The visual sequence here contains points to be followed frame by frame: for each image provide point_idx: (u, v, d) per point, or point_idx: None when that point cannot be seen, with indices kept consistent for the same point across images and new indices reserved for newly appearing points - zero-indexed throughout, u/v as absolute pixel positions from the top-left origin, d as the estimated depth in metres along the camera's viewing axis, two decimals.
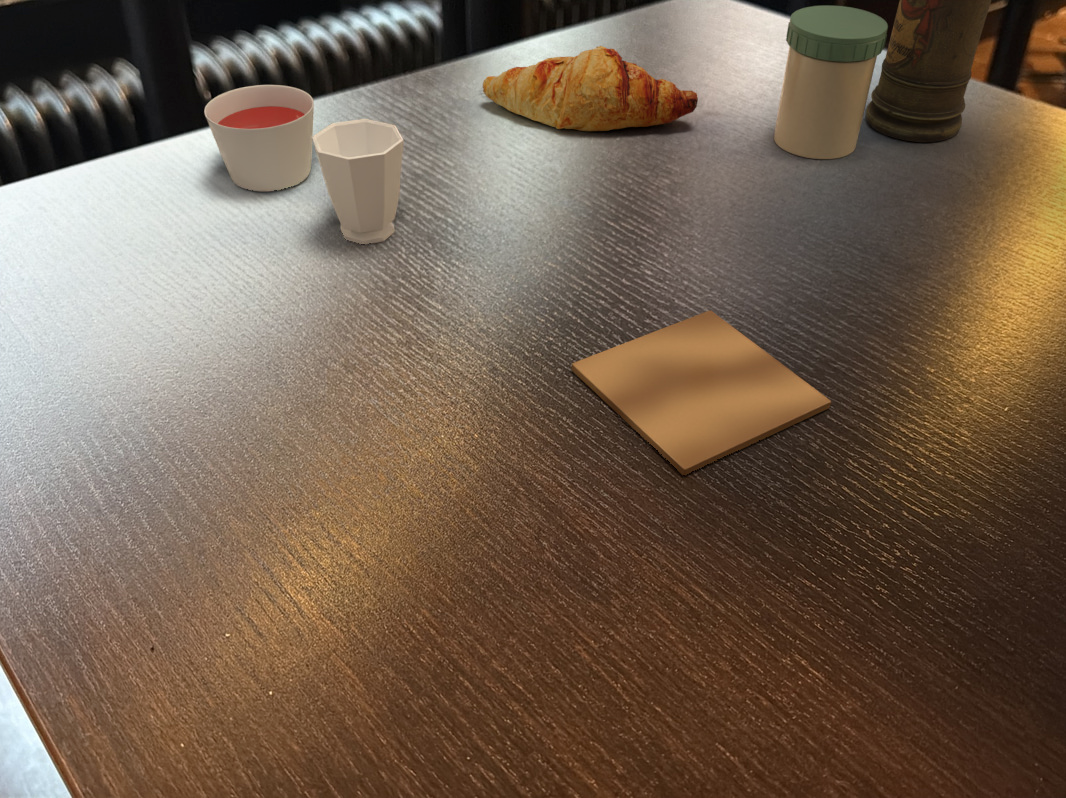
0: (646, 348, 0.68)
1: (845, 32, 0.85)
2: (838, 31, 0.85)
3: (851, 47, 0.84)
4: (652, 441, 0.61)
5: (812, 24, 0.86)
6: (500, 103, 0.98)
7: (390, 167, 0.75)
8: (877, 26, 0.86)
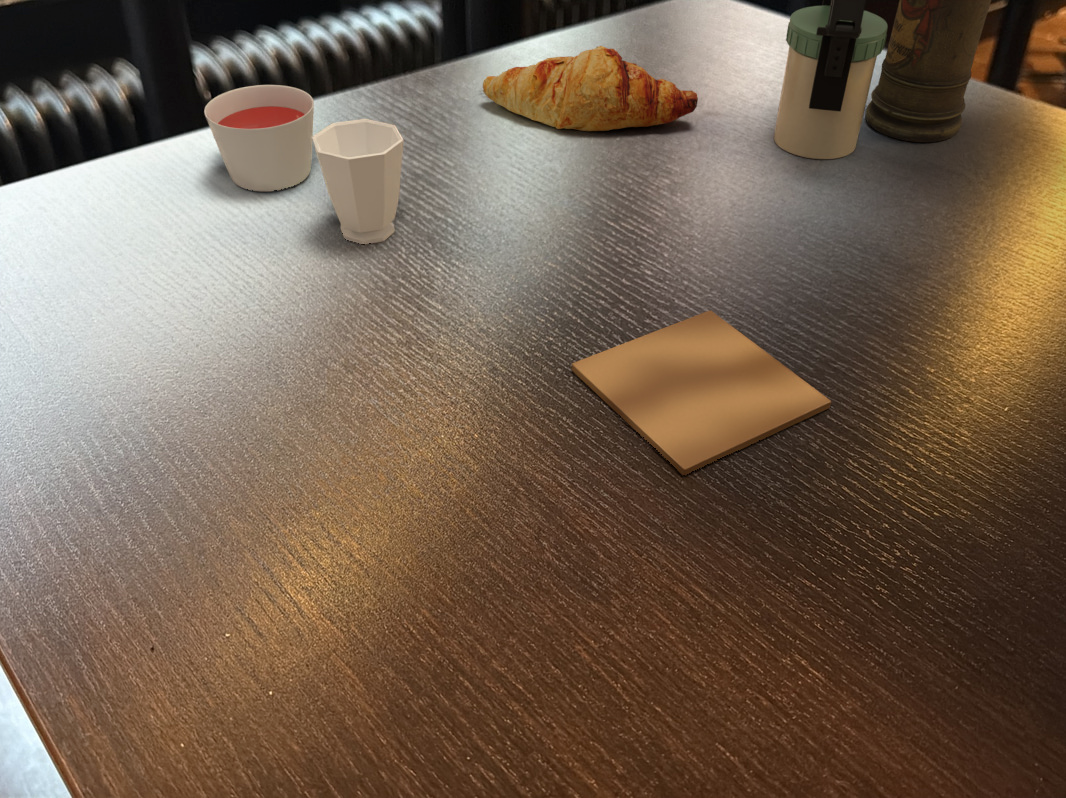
0: (646, 348, 0.68)
1: None
2: None
3: None
4: (652, 441, 0.61)
5: (812, 24, 0.86)
6: (500, 103, 0.98)
7: (390, 167, 0.75)
8: (877, 26, 0.86)
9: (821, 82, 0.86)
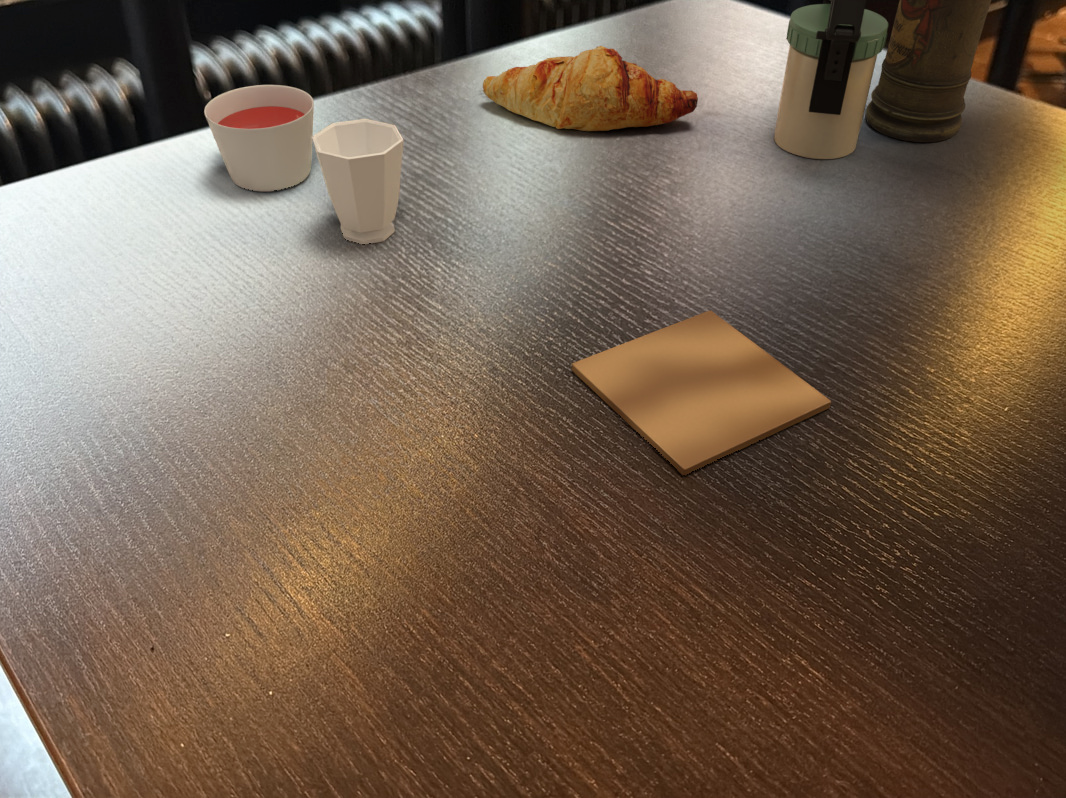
0: (646, 348, 0.68)
1: (870, 20, 0.87)
2: (869, 22, 0.86)
3: None
4: (652, 441, 0.61)
5: None
6: (500, 103, 0.98)
7: (390, 167, 0.75)
8: None
9: (821, 86, 0.86)
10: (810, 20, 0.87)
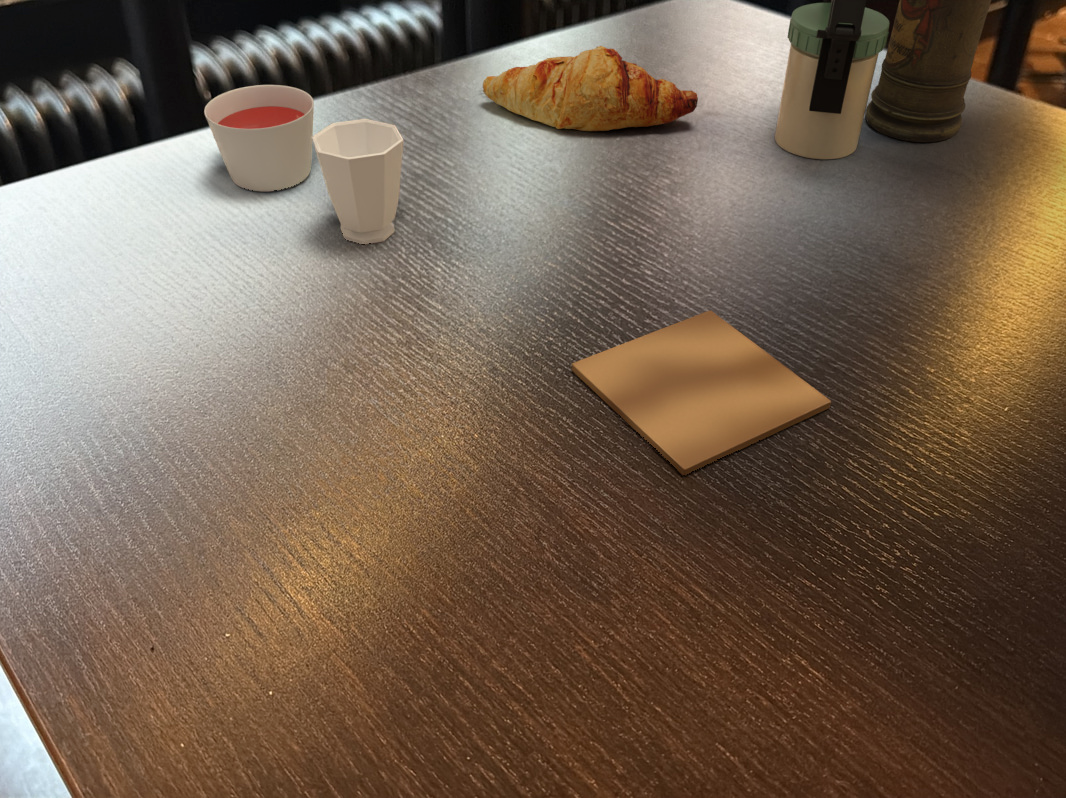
0: (646, 348, 0.68)
1: None
2: None
3: None
4: (652, 441, 0.61)
5: (866, 15, 0.87)
6: (500, 103, 0.98)
7: (390, 167, 0.75)
8: (802, 13, 0.88)
9: (821, 85, 0.86)
10: None
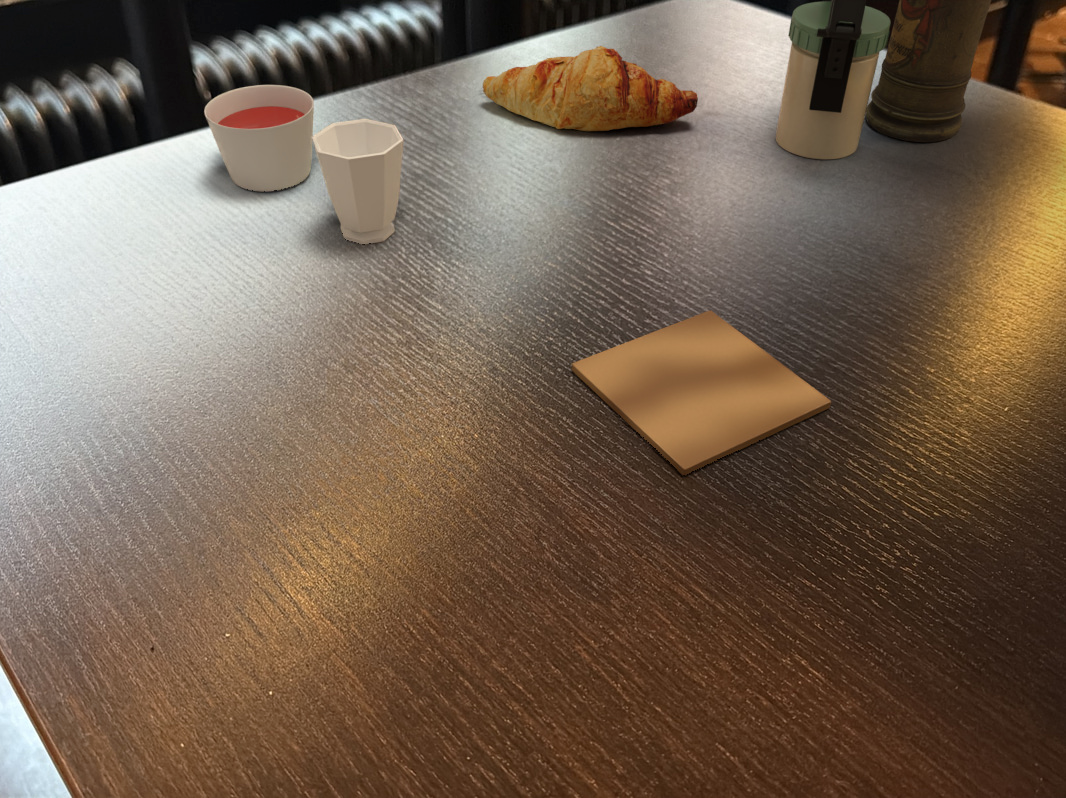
0: (646, 348, 0.68)
1: (809, 16, 0.87)
2: (811, 14, 0.87)
3: (792, 26, 0.87)
4: (652, 441, 0.61)
5: (825, 7, 0.89)
6: (500, 103, 0.98)
7: (390, 167, 0.75)
8: None
9: (821, 83, 0.86)
10: (870, 16, 0.87)
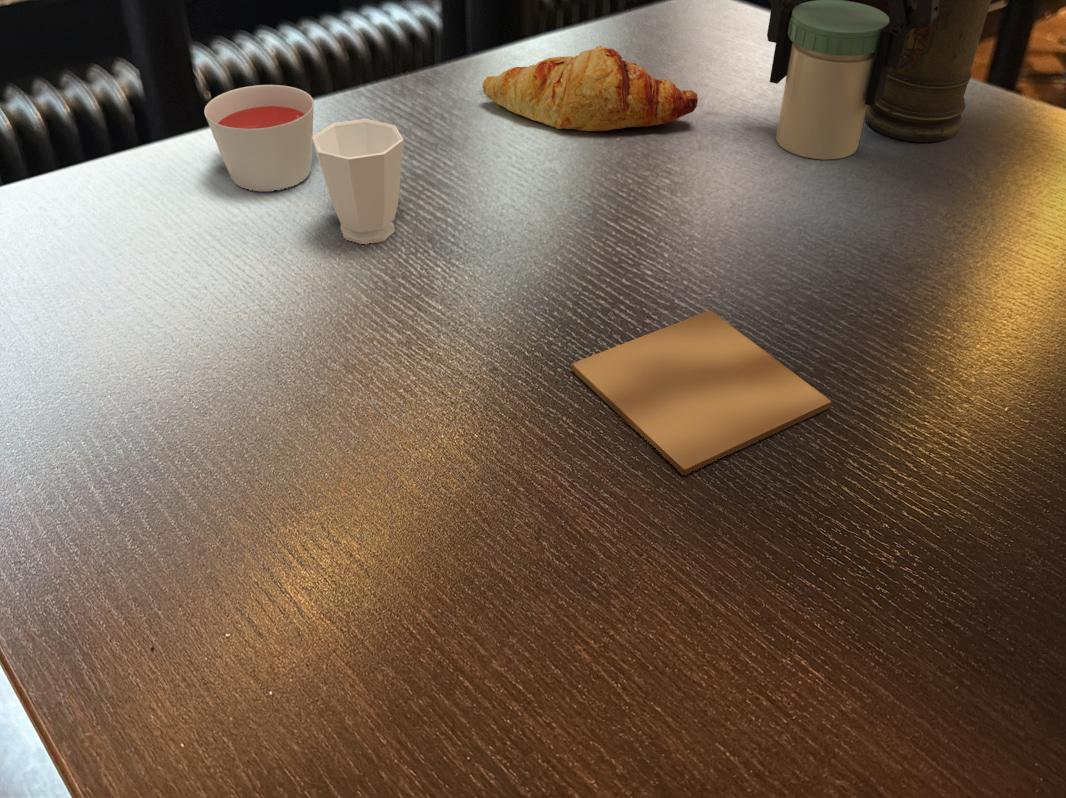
0: (646, 348, 0.68)
1: (835, 25, 0.85)
2: (829, 23, 0.85)
3: (834, 40, 0.84)
4: (652, 441, 0.61)
5: (810, 14, 0.87)
6: (500, 103, 0.98)
7: (390, 167, 0.75)
8: (875, 24, 0.85)
9: (881, 77, 0.87)
10: (841, 5, 0.89)
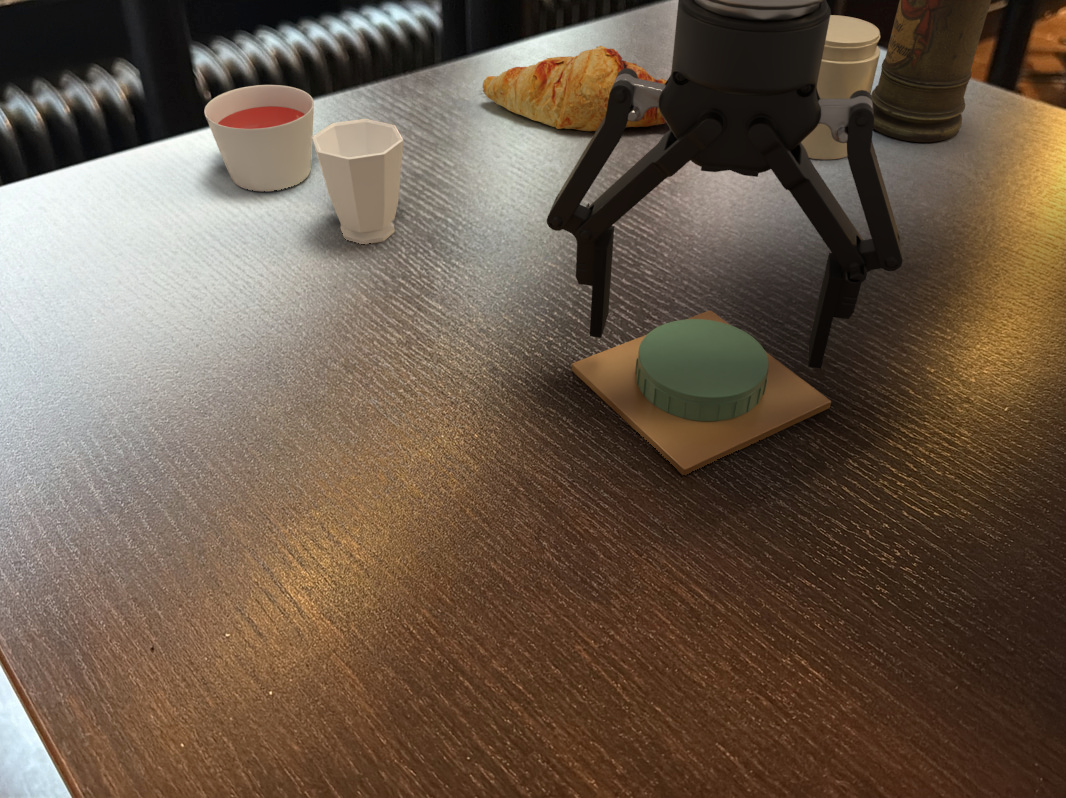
0: None
1: (706, 382, 0.62)
2: (697, 380, 0.62)
3: (713, 406, 0.61)
4: (652, 441, 0.61)
5: (665, 363, 0.63)
6: (500, 103, 0.98)
7: (390, 167, 0.75)
8: (753, 368, 0.63)
9: None
10: (694, 332, 0.66)
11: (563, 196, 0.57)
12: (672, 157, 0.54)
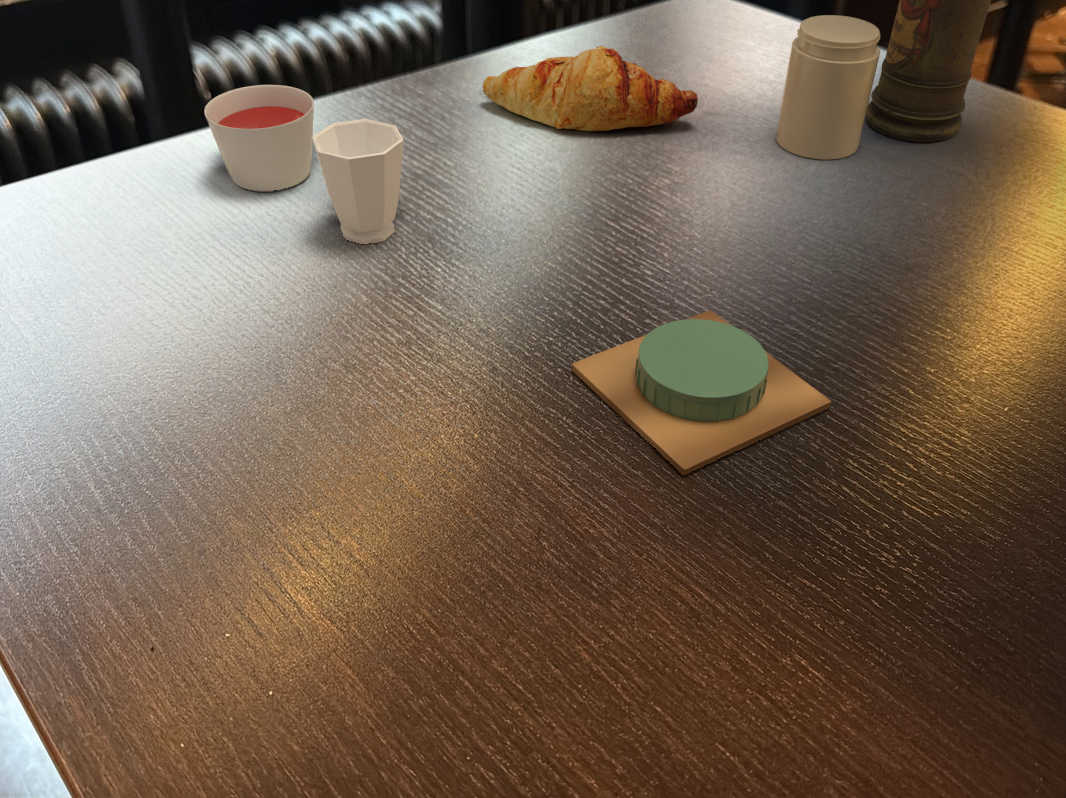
0: None
1: (706, 382, 0.62)
2: (697, 380, 0.62)
3: (713, 406, 0.61)
4: (652, 441, 0.61)
5: (665, 363, 0.63)
6: (500, 103, 0.98)
7: (390, 167, 0.75)
8: (753, 368, 0.63)
9: None
10: (694, 332, 0.66)
11: None
12: None
